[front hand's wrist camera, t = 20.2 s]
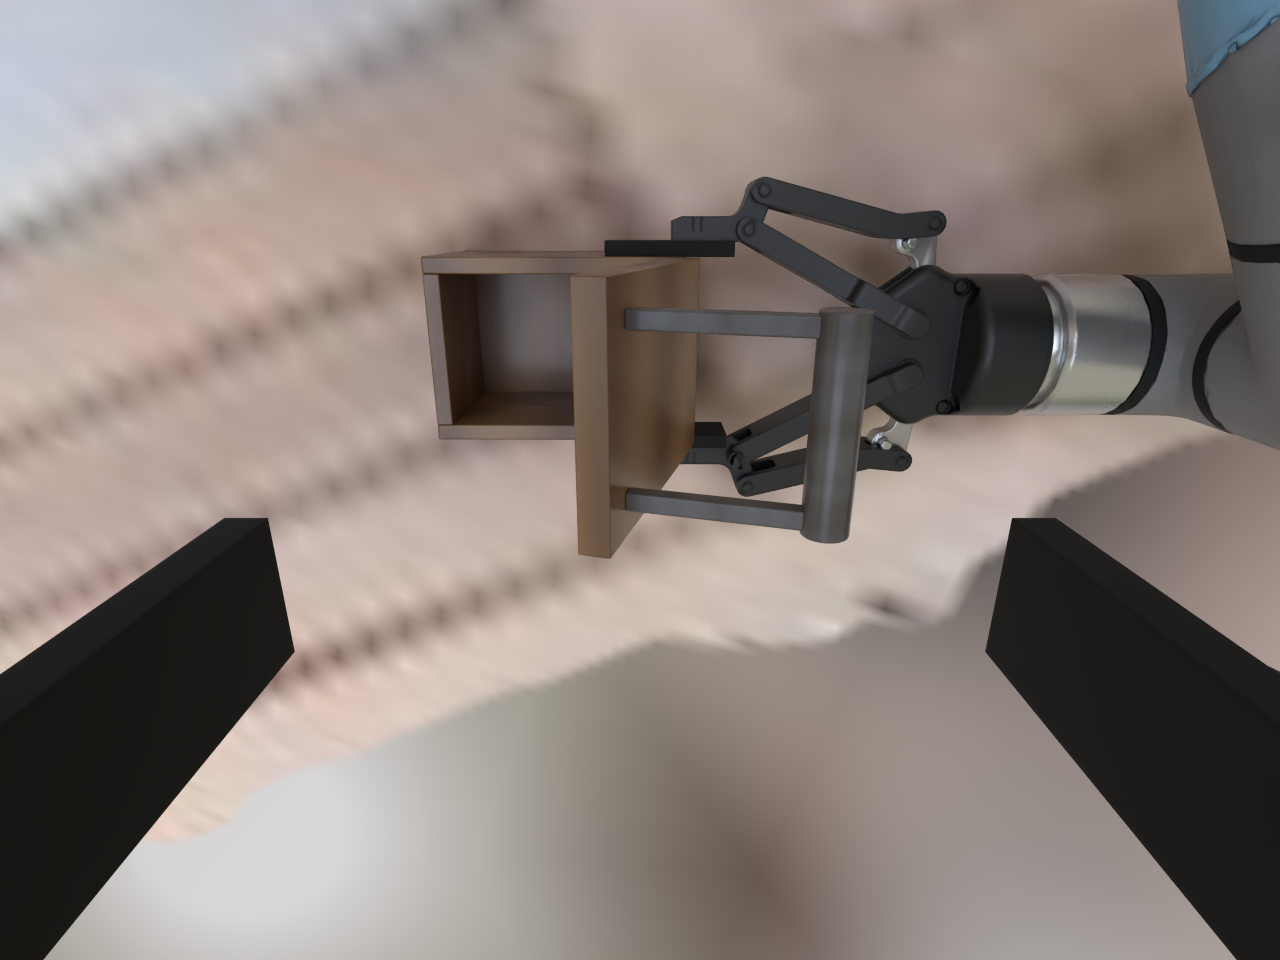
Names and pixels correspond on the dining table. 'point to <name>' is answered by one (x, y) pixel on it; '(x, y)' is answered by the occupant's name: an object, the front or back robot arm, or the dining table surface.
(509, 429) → the chest
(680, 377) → the brown piece
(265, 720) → the dining table surface
